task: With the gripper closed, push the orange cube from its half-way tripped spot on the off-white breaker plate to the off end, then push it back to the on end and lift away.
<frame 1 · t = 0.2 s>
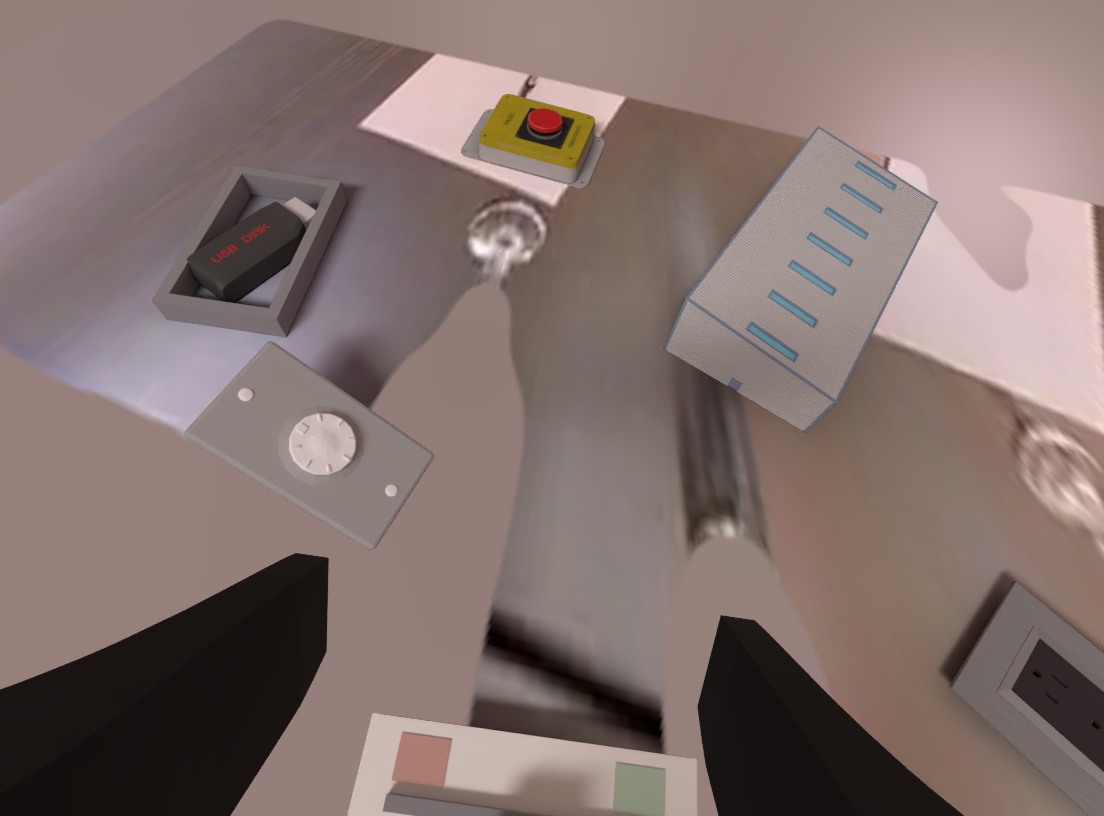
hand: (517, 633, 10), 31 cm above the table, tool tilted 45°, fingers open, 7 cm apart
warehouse: (792, 293, 58), on the table
usb drive: (264, 255, 54), resting in desk tray
light switch: (335, 468, 44), on the table
desk tray: (264, 255, 54), on the table
electrical outlet: (1046, 709, 40), on the table
emergency button: (534, 152, 65), on the table
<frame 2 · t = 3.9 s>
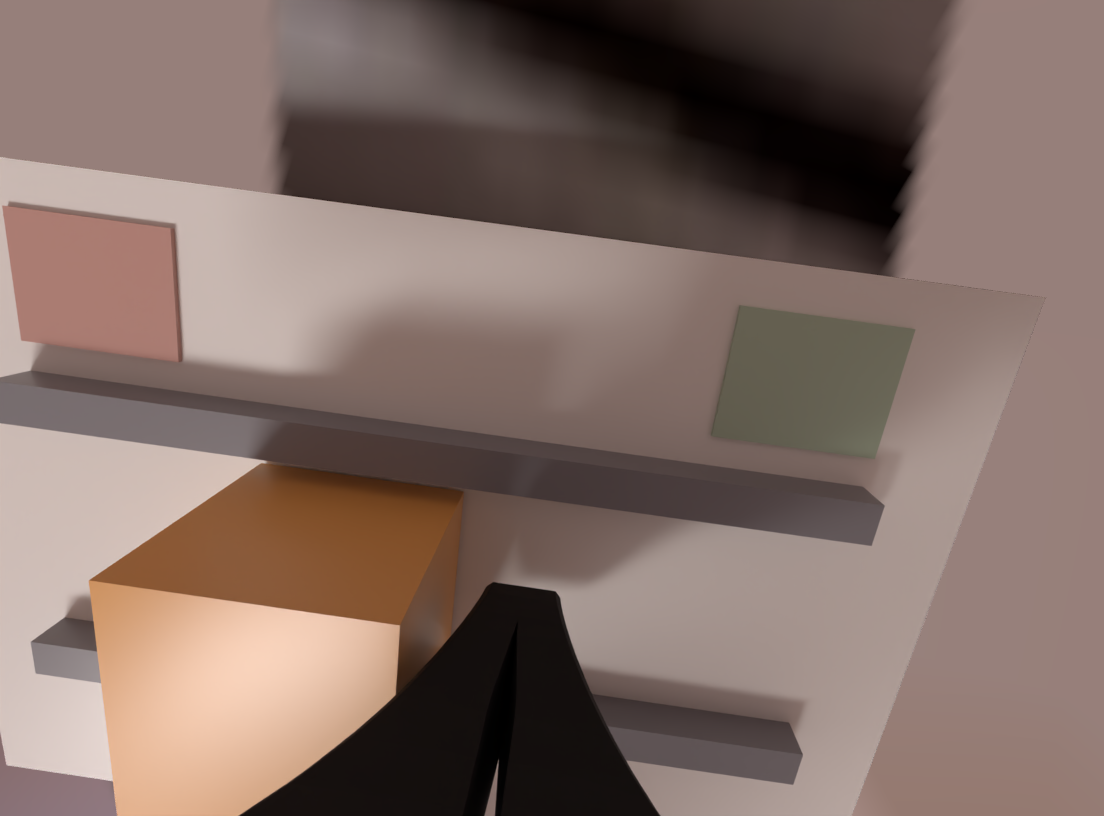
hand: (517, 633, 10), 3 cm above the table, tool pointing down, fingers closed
breaker plate: (452, 527, 13), on the table
orange cube: (314, 631, 10), point 4 cm above the table, slide at 1.5 cm, touching gripper
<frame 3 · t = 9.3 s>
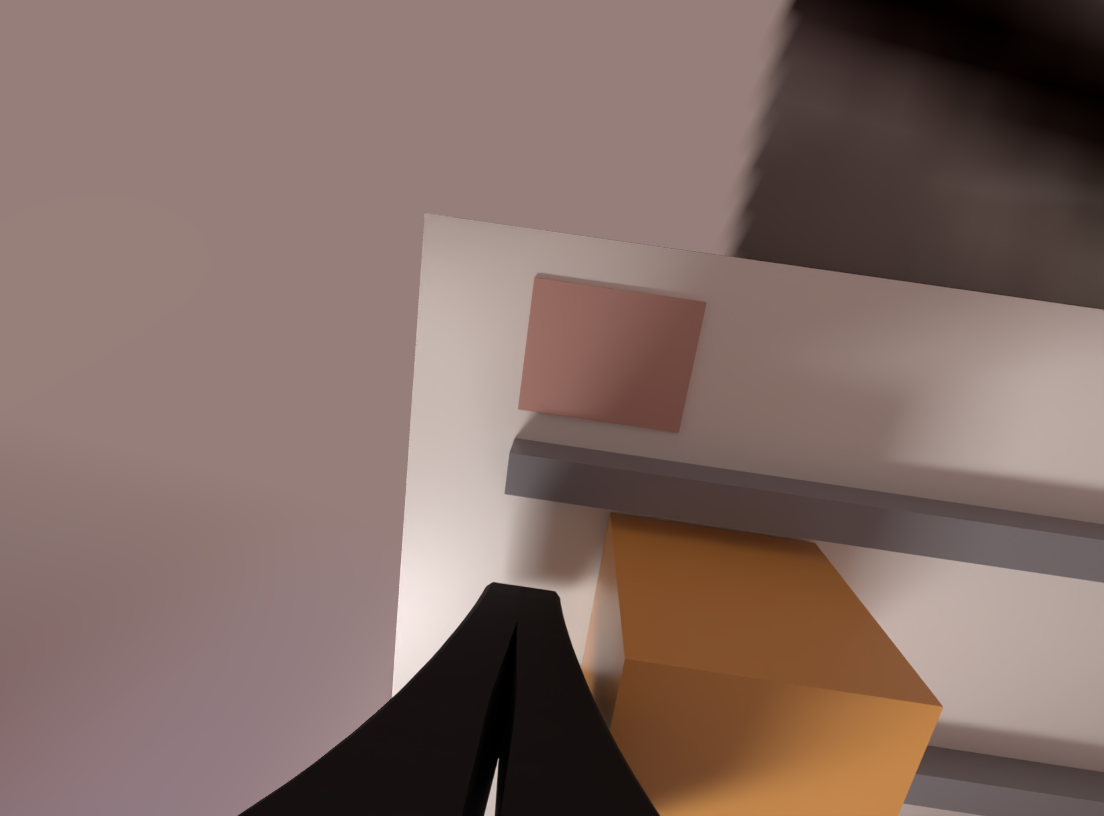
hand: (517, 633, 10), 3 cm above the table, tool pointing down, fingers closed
breaker plate: (840, 584, 13), on the table
orange cube: (713, 690, 9), point 4 cm above the table, slide at 4.0 cm, touching gripper
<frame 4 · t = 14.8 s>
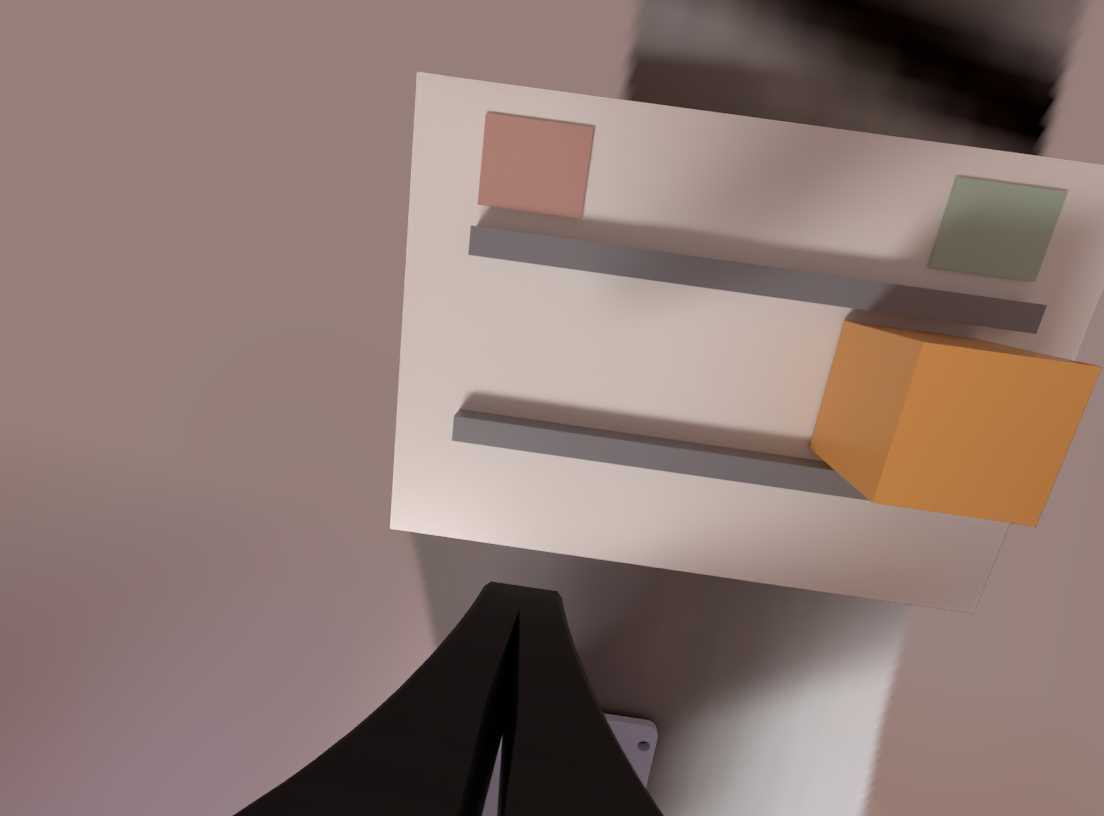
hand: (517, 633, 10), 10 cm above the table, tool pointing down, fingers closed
breaker plate: (710, 359, 19), on the table
orange cube: (931, 414, 15), point 4 cm above the table, slide at -5.1 cm
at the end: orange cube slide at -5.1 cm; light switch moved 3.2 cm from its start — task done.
